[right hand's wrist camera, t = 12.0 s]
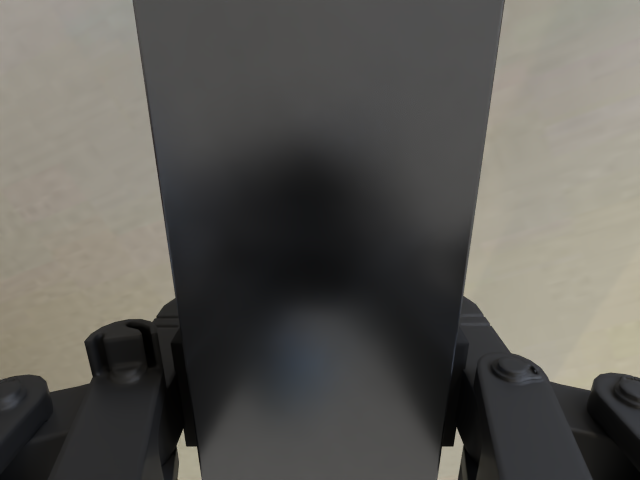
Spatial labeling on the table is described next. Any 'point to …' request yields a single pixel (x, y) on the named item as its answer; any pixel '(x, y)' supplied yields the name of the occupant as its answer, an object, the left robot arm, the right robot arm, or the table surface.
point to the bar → (319, 221)
